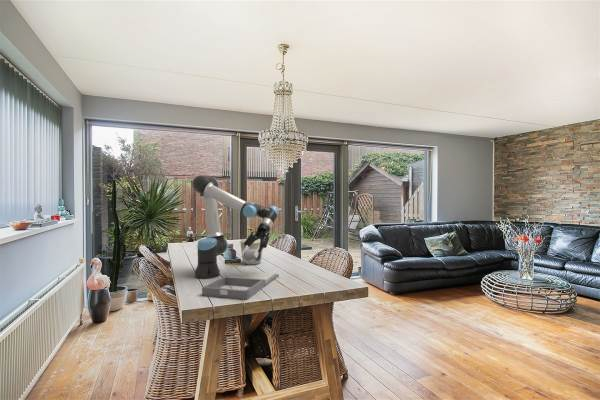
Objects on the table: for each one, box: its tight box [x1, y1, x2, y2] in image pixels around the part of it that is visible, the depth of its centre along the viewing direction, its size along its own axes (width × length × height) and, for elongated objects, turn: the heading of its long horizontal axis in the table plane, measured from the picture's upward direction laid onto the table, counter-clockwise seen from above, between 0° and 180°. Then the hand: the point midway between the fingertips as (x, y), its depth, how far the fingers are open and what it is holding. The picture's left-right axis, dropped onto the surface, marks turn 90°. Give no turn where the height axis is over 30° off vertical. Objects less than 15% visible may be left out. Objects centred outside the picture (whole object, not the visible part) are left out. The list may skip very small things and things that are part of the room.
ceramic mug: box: [243, 249, 262, 265], centre depth 194 cm, size 11×8×8 cm
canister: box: [239, 238, 264, 265], centre depth 244 cm, size 18×18×21 cm
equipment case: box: [201, 270, 280, 300], centre depth 185 cm, size 25×47×4 cm, turn 164°
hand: (249, 255), depth 193 cm, fingers closed on ceramic mug, 9 cm apart
